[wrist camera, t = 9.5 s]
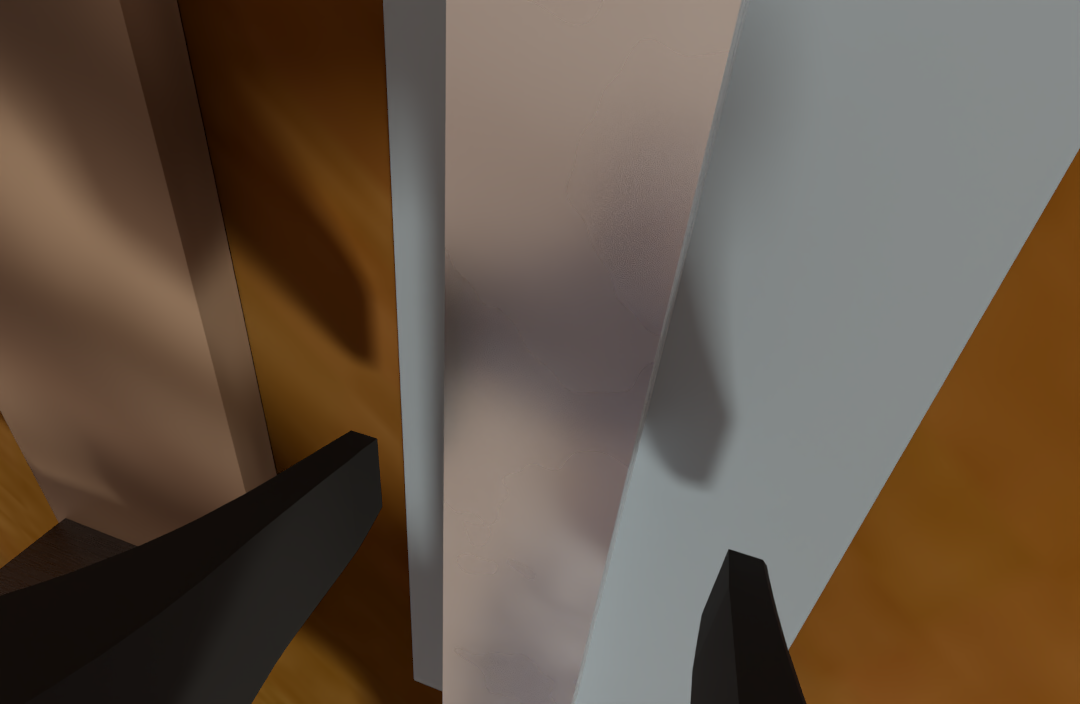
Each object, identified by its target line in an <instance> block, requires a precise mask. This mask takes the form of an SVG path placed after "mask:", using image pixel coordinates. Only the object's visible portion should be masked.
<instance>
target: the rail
mask: <svg viewBox="0 0 1080 704" xmlns="http://www.w3.org/2000/svg"><path fill="white" fill-rule="evenodd" d="M749 2H750V0H446V122H445V317H444V511H443V704H575V703H576V699H577V695H578V691H579V687H580V683H581V679H582V675H583V671H584V667H585V663H586V659H587V655H588V650H589V646H590V642H591V638H592V634H593V630H594V626H595V622H596V618H597V614H598V610H599V606H600V602H601V598H602V594H603V590H604V586H605V582H606V578H607V574H608V570H609V566H610V562H611V558H612V554H613V550H614V546H615V542H616V538H617V534H618V530H619V526H620V522H621V518H622V514H623V509H624V505H625V501H626V497H627V493H628V489H629V485H630V481H631V477H632V473H633V469H634V465H635V461H636V457H637V453H638V449H639V445H640V441H641V437H642V433H643V429H644V425H645V421H646V417H647V413H648V409H649V405H650V401H651V397H652V393H653V389H654V385H655V381H656V377H657V373H658V368H659V364H660V360H661V356H662V352H663V348H664V344H665V340H666V336H667V332H668V328H669V324H670V320H671V316H672V312H673V308H674V304H675V300H676V296H677V292H678V288H679V284H680V280H681V276H682V272H683V268H684V264H685V260H686V256H687V252H688V248H689V244H690V240H691V236H692V232H693V227H694V223H695V219H696V215H697V211H698V207H699V203H700V199H701V195H702V191H703V187H704V183H705V179H706V175H707V171H708V167H709V163H710V159H711V155H712V151H713V147H714V143H715V139H716V135H717V131H718V127H719V123H720V119H721V115H722V111H723V107H724V103H725V99H726V95H727V91H728V86H729V82H730V78H731V74H732V70H733V66H734V62H735V58H736V54H737V50H738V46H739V42H740V38H741V34H742V30H743V26H744V22H745V18H746V14H747V10H748V6H749Z"/></svg>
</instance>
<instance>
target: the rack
mask: <svg viewBox="0 0 1080 704" xmlns="http://www.w3.org/2000/svg"><path fill="white" fill-rule="evenodd" d="M0 411H1V413H2V415H3V417H4V419H5V421H6V422H7V424H8V426H9V428H10V430H11V432H12V434H13V436H14V438H15V440H16V442H17V443H18V445H19V447H20V449H21V451H22V453H23V455H24V457H25V459H26V461H27V463H28V464H29V466H30V468H31V470H32V472H33V474H34V476H35V478H36V480H37V482H38V484H39V485H40V487H41V489H42V491H43V493H44V495H45V497H46V499H47V501H48V503H49V505H50V506H51V508H52V510H53V512H54V514H55V516H56V518H57V520H58V522H59V523H58V524H57V525H56V526H54V527H53V528H52V529H51V530H49V531H48V532H47V533H46V534H44V535H43V536H42V537H40V538H39V539H38V540H37V541H35V542H34V543H33V544H31V545H30V546H29V547H28V548H26V549H25V550H24V551H23V552H21V553H20V554H19V555H17V556H16V557H15V558H14V559H12V560H11V561H10V562H8V563H7V564H6V565H5V566H3V567H2V568H1V569H0V596H1V595H4V594H7V593H10V592H13V591H16V590H20V589H23V588H26V587H29V586H32V585H35V584H38V583H41V582H44V581H47V580H50V579H53V578H56V577H59V576H62V575H65V574H68V573H70V572H73V571H76V570H79V569H81V568H84V567H86V566H89V565H91V564H94V563H97V562H99V561H102V560H104V559H107V558H109V557H112V556H115V555H117V554H120V553H122V552H125V551H127V550H130V549H133V548H135V547H137V546H140V545H142V544H144V543H147V542H149V541H151V540H153V539H155V538H158V537H160V536H162V535H164V534H167V533H169V532H171V531H173V530H175V529H178V528H180V527H182V526H184V525H186V524H188V523H190V522H192V521H194V520H196V519H198V518H200V517H202V516H204V515H206V514H208V513H210V512H212V511H213V510H215V509H217V508H219V507H221V506H223V505H225V504H227V503H228V502H230V501H232V500H234V499H236V498H238V497H240V496H242V495H243V494H245V493H247V492H249V491H251V490H252V489H254V488H256V487H257V486H259V485H261V484H263V483H264V482H266V481H268V480H269V479H271V478H273V477H275V476H276V475H277V474H276V469H275V465H274V460H273V455H272V450H271V446H270V441H269V436H268V431H267V427H266V422H265V417H264V412H263V408H262V403H261V398H260V393H259V389H258V384H257V379H256V374H255V370H254V365H253V360H252V355H251V351H250V346H249V341H248V336H247V332H246V327H245V322H244V317H243V313H242V308H241V303H240V298H239V294H238V289H237V284H236V279H235V275H234V270H233V265H232V260H231V256H230V251H229V246H228V241H227V237H226V232H225V227H224V222H223V218H222V213H221V208H220V203H219V199H218V194H217V189H216V184H215V180H214V175H213V170H212V165H211V161H210V156H209V151H208V146H207V142H206V137H205V132H204V127H203V123H202V118H201V113H200V108H199V104H198V99H197V94H196V89H195V85H194V80H193V75H192V70H191V66H190V61H189V56H188V51H187V47H186V42H185V37H184V32H183V28H182V23H181V18H180V13H179V9H178V4H177V0H0Z"/></svg>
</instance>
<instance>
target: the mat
mask: <svg viewBox="0 0 1080 704" xmlns="http://www.w3.org/2000/svg"><path fill="white" fill-rule="evenodd" d="M383 10H384V32H385V54H386V76H387V98H388V120H389V142H390V164H391V186H392V208H393V230H394V252H395V274H396V296H397V318H398V340H399V362H400V384H401V406H402V428H403V450H404V472H405V494H406V516H407V538H408V560H409V582H410V604H411V626H412V648H413V670H414V680H415V681H418V682H420V683H423V684H425V685H428V686H430V687H433V688H435V689H438V690H440V691H443V511H444V317H445V122H446V0H383ZM1079 148H1080V0H750V2H749V6H748V10H747V14H746V18H745V22H744V26H743V30H742V34H741V38H740V42H739V46H738V50H737V54H736V58H735V62H734V66H733V70H732V74H731V78H730V82H729V86H728V91H727V95H726V99H725V103H724V107H723V111H722V115H721V119H720V123H719V127H718V131H717V135H716V139H715V143H714V147H713V151H712V155H711V159H710V163H709V167H708V171H707V175H706V179H705V183H704V187H703V191H702V195H701V199H700V203H699V207H698V211H697V215H696V219H695V223H694V227H693V232H692V236H691V240H690V244H689V248H688V252H687V256H686V260H685V264H684V268H683V272H682V276H681V280H680V284H679V288H678V292H677V296H676V300H675V304H674V308H673V312H672V316H671V320H670V324H669V328H668V332H667V336H666V340H665V344H664V348H663V352H662V356H661V360H660V364H659V368H658V373H657V377H656V381H655V385H654V389H653V393H652V397H651V401H650V405H649V409H648V413H647V417H646V421H645V425H644V429H643V433H642V437H641V441H640V445H639V449H638V453H637V457H636V461H635V465H634V469H633V473H632V477H631V481H630V485H629V489H628V493H627V497H626V501H625V505H624V509H623V514H622V518H621V522H620V526H619V530H618V534H617V538H616V542H615V546H614V550H613V554H612V558H611V562H610V566H609V570H608V574H607V578H606V582H605V586H604V590H603V594H602V598H601V602H600V606H599V610H598V614H597V618H596V622H595V626H594V630H593V634H592V638H591V642H590V646H589V650H588V655H587V659H586V663H585V667H584V671H583V675H582V679H581V683H580V687H579V691H578V695H577V699H576V703H575V704H690V701H691V685H692V669H693V663H694V657H695V651H696V644H697V638H698V633H699V627H700V621H701V615H702V612H703V610H704V607H705V605H706V603H707V600H708V598H709V595H710V593H711V590H712V588H713V586H714V583H715V581H716V578H717V576H718V573H719V571H720V569H721V566H722V564H723V561H724V559H725V556H726V554H727V552H728V549H731V550H734V551H737V552H740V553H743V554H746V555H750V556H753V557H756V558H759V559H762V560H763V561H764V562H765V564H766V565H767V568H768V574H769V579H770V583H771V588H772V592H773V596H774V600H775V604H776V608H777V612H778V616H779V619H780V623H781V627H782V630H783V634H784V637H785V641H786V644H787V647H788V650H789V648H790V646H791V644H792V643H793V641H794V639H795V637H796V636H797V634H798V632H799V631H800V629H801V627H802V625H803V624H804V622H805V620H806V619H807V617H808V615H809V613H810V612H811V610H812V608H813V606H814V605H815V603H816V601H817V600H818V598H819V596H820V594H821V593H822V591H823V589H824V587H825V586H826V584H827V582H828V581H829V579H830V577H831V575H832V574H833V572H834V570H835V569H836V567H837V565H838V563H839V562H840V560H841V558H842V556H843V555H844V553H845V551H846V550H847V548H848V546H849V544H850V543H851V541H852V539H853V538H854V536H855V534H856V532H857V531H858V529H859V527H860V525H861V524H862V522H863V520H864V519H865V517H866V515H867V513H868V512H869V510H870V508H871V507H872V505H873V503H874V501H875V500H876V498H877V496H878V494H879V493H880V491H881V489H882V488H883V486H884V484H885V482H886V481H887V479H888V477H889V476H890V474H891V472H892V470H893V469H894V467H895V465H896V463H897V462H898V460H899V458H900V457H901V455H902V453H903V451H904V450H905V448H906V446H907V445H908V443H909V441H910V439H911V438H912V436H913V434H914V432H915V431H916V429H917V427H918V426H919V424H920V422H921V420H922V419H923V417H924V415H925V414H926V412H927V410H928V408H929V407H930V405H931V403H932V401H933V400H934V398H935V396H936V395H937V393H938V391H939V389H940V388H941V386H942V384H943V383H944V381H945V379H946V377H947V376H948V374H949V372H950V370H951V369H952V367H953V365H954V364H955V362H956V360H957V358H958V357H959V355H960V353H961V352H962V350H963V348H964V346H965V345H966V343H967V341H968V339H969V338H970V336H971V334H972V333H973V331H974V329H975V327H976V326H977V324H978V322H979V320H980V319H981V317H982V315H983V314H984V312H985V310H986V308H987V307H988V305H989V303H990V302H991V300H992V298H993V296H994V295H995V293H996V291H997V289H998V288H999V286H1000V284H1001V283H1002V281H1003V279H1004V277H1005V276H1006V274H1007V272H1008V271H1009V269H1010V267H1011V265H1012V264H1013V262H1014V260H1015V258H1016V257H1017V255H1018V253H1019V252H1020V250H1021V248H1022V246H1023V245H1024V243H1025V241H1026V240H1027V238H1028V236H1029V234H1030V233H1031V231H1032V229H1033V227H1034V226H1035V224H1036V222H1037V221H1038V219H1039V217H1040V215H1041V214H1042V212H1043V210H1044V209H1045V207H1046V205H1047V203H1048V202H1049V200H1050V198H1051V196H1052V195H1053V193H1054V191H1055V190H1056V188H1057V186H1058V184H1059V183H1060V181H1061V179H1062V178H1063V176H1064V174H1065V172H1066V171H1067V169H1068V167H1069V165H1070V164H1071V162H1072V160H1073V159H1074V157H1075V155H1076V153H1077V152H1078V150H1079Z"/></svg>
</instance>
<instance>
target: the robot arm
mask: <svg viewBox="0 0 1080 704" xmlns="http://www.w3.org/2000/svg"><path fill="white" fill-rule="evenodd" d="M381 508H382V496H381V483H380V470H379V457H378V444H377V439H376V438H373V437H370V436H367V435H364V434H360V433H357V432H354V431H350V432H348V433H346V434H345V435H343V436H341V437H340V438H338V439H336V440H335V441H333V442H331V443H330V444H328V445H326V446H325V447H323V448H321V449H320V450H318V451H316V452H315V453H313V454H311V455H310V456H308V457H306V458H305V459H303V460H301V461H300V462H298V463H297V464H295V465H293V466H292V467H290V468H288V469H287V470H285V471H283V472H281V473H280V474H278V475H276V476H275V477H273V478H271V479H269V480H268V481H266V482H264V483H263V484H261V485H259V486H257V487H256V488H254V489H252V490H251V491H249V492H247V493H245V494H243V495H242V496H240V497H238V498H236V499H234V500H232V501H230V502H228V503H227V504H225V505H223V506H221V507H219V508H217V509H215V510H213V511H212V512H210V513H208V514H206V515H204V516H202V517H200V518H198V519H196V520H194V521H192V522H190V523H188V524H186V525H184V526H182V527H180V528H178V529H175V530H173V531H171V532H169V533H167V534H164V535H162V536H160V537H158V538H155V539H153V540H151V541H149V542H147V543H144V544H142V545H140V546H137V547H135V548H133V549H130V550H127V551H125V552H122V553H120V554H117V555H115V556H112V557H109V558H107V559H104V560H102V561H99V562H97V563H94V564H91V565H89V566H86V567H84V568H81V569H79V570H76V571H73V572H70V573H68V574H65V575H62V576H59V577H56V578H53V579H50V580H47V581H44V582H41V583H38V584H35V585H32V586H29V587H26V588H23V589H20V590H16V591H13V592H10V593H7V594H4V595H1V596H0V704H251V703H252V702H253V700H254V698H255V697H256V695H257V693H258V692H259V690H260V688H261V687H262V685H263V683H264V682H265V680H266V679H267V677H268V675H269V674H270V672H271V670H272V669H273V667H274V665H275V664H276V662H277V661H278V659H279V658H280V656H281V655H282V653H283V652H284V650H285V649H286V647H287V646H288V644H289V643H290V642H291V640H292V639H293V637H294V636H295V635H296V633H297V632H298V631H299V629H300V628H301V627H302V625H303V624H304V623H305V621H306V620H307V619H308V617H309V616H310V615H311V613H312V612H313V610H314V609H315V608H316V606H317V605H318V604H319V602H320V601H321V600H322V598H323V597H324V596H325V594H326V593H327V592H328V590H329V589H330V588H331V586H332V585H333V584H334V582H335V581H336V579H337V578H338V577H339V575H340V574H341V573H342V571H343V570H344V568H345V567H346V566H347V564H348V563H349V562H350V560H351V559H352V557H353V556H354V555H355V553H356V552H357V550H358V549H359V547H360V545H361V544H362V542H363V540H364V539H365V537H366V535H367V533H368V532H369V530H370V528H371V526H372V524H373V523H374V521H375V519H376V517H377V515H378V513H379V512H380V510H381ZM690 704H806V701H805V699H804V696H803V693H802V690H801V687H800V684H799V681H798V678H797V675H796V672H795V669H794V666H793V663H792V660H791V657H790V654H789V650H788V647H787V644H786V641H785V637H784V634H783V630H782V627H781V623H780V619H779V616H778V612H777V608H776V604H775V600H774V596H773V592H772V588H771V583H770V579H769V574H768V568H767V565H766V564H765V562H764V561H763V560H762V559H759V558H756V557H753V556H750V555H746V554H743V553H740V552H737V551H734V550H731V549H728V552H727V554H726V556H725V559H724V561H723V564H722V566H721V569H720V571H719V573H718V576H717V578H716V581H715V583H714V586H713V588H712V590H711V593H710V595H709V598H708V600H707V603H706V605H705V607H704V610H703V612H702V615H701V621H700V627H699V633H698V638H697V644H696V651H695V657H694V663H693V669H692V685H691V701H690Z"/></svg>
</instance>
